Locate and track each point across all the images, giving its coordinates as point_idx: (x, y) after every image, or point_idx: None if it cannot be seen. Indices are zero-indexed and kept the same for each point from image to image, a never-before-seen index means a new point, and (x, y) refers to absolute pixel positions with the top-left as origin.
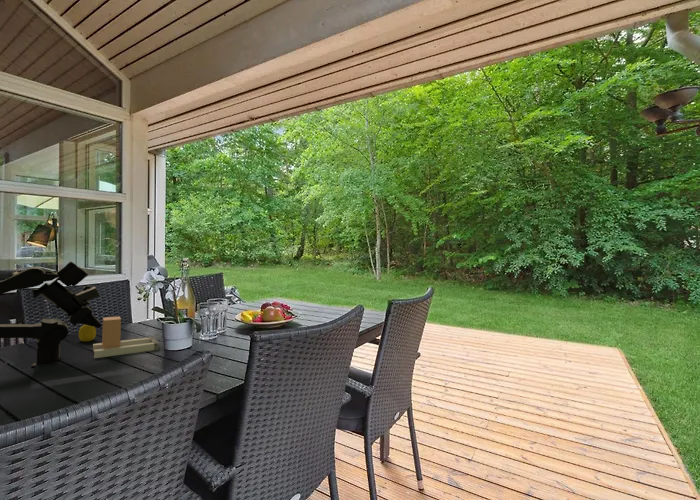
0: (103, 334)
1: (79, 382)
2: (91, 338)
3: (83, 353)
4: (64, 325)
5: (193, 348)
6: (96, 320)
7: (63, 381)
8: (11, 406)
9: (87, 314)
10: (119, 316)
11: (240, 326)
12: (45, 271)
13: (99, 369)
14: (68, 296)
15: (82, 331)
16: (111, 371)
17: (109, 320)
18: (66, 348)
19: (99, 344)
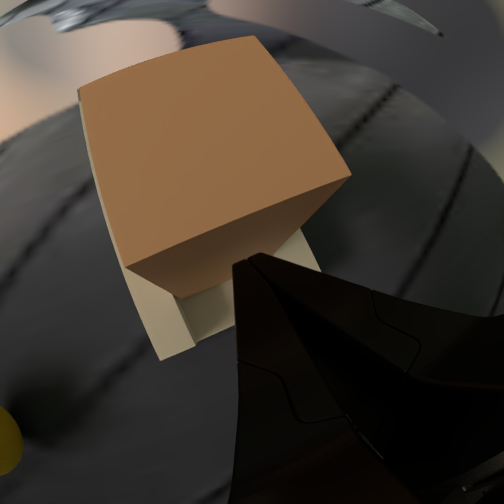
0: (291, 234)
1: (474, 243)
2: (6, 412)
3: (159, 401)
4: (458, 489)
5: (171, 15)
6: (346, 286)
7: (472, 292)
8: None
9: None
10: (87, 84)
11: (6, 14)
12: None
13: (394, 226)
14: None
15: (2, 463)
16: (407, 181)
17: (313, 120)
18: (87, 486)
19: (172, 317)
